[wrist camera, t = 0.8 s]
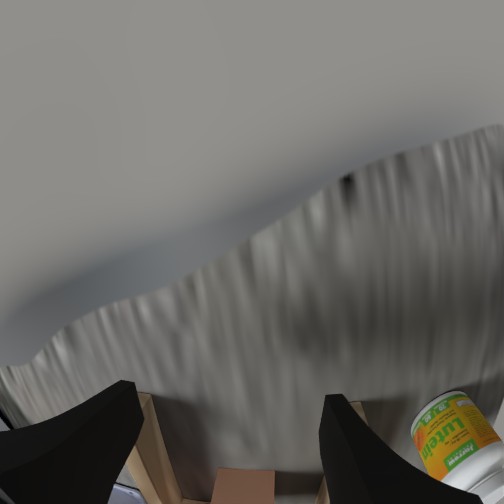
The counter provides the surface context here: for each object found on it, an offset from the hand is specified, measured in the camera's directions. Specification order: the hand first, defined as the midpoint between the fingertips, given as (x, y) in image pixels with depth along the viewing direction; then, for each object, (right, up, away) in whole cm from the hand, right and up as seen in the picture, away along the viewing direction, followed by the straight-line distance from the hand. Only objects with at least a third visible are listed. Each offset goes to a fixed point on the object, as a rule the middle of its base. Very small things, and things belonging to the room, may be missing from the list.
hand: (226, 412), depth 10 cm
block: (0, -14, +9) cm, 16 cm away
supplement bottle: (+15, -7, +7) cm, 18 cm away
